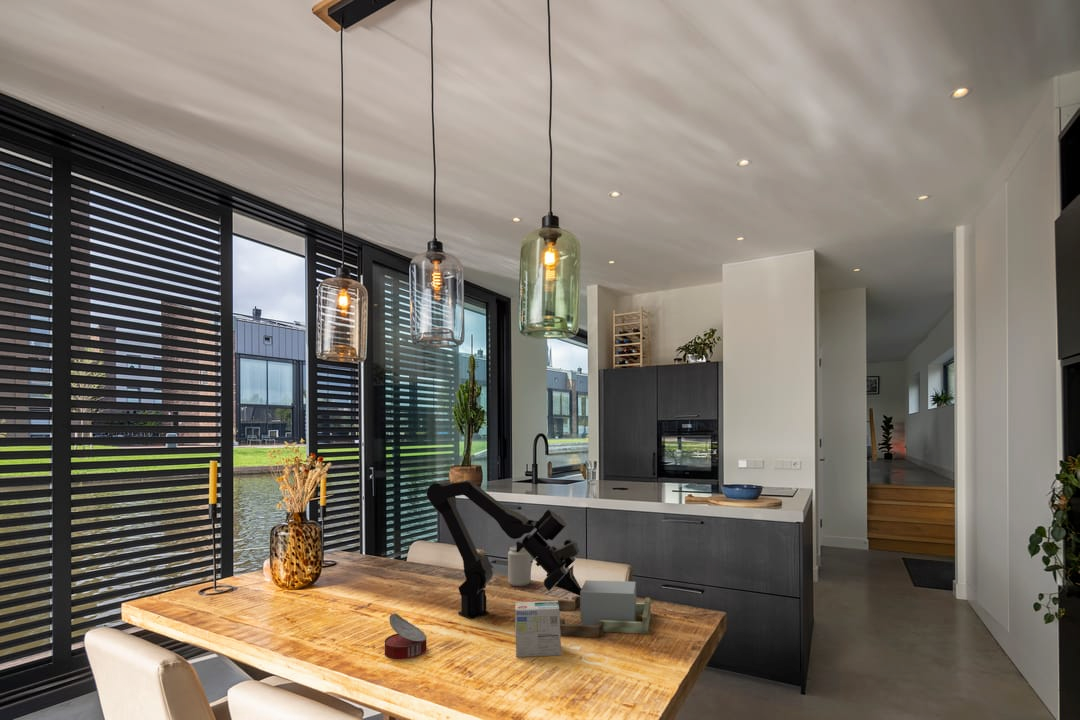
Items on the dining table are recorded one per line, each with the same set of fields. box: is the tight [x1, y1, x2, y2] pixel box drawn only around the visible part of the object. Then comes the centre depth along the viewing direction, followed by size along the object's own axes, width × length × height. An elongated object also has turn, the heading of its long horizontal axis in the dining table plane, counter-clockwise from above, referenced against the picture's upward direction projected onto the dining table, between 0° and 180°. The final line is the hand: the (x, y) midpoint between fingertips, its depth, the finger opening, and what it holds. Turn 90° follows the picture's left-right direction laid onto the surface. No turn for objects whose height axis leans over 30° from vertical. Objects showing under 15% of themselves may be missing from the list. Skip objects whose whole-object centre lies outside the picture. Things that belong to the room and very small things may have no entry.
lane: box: [543, 595, 652, 639], centre depth 165 cm, size 30×27×4 cm
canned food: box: [384, 612, 427, 660], centre depth 146 cm, size 11×10×10 cm
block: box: [580, 579, 638, 626], centre depth 165 cm, size 14×12×9 cm
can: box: [507, 545, 532, 587], centre depth 204 cm, size 8×8×12 cm
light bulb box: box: [514, 600, 562, 658], centre depth 144 cm, size 11×7×11 cm, turn 92°
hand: (582, 594), depth 166 cm, fingers closed
